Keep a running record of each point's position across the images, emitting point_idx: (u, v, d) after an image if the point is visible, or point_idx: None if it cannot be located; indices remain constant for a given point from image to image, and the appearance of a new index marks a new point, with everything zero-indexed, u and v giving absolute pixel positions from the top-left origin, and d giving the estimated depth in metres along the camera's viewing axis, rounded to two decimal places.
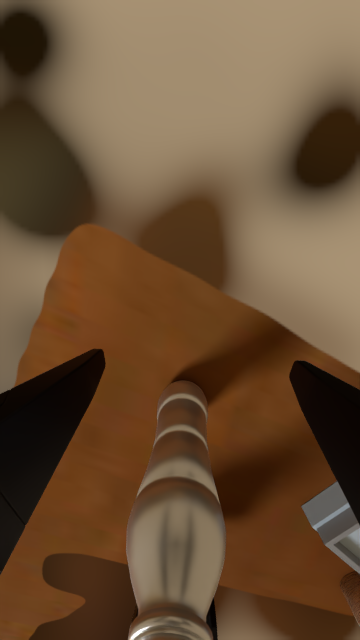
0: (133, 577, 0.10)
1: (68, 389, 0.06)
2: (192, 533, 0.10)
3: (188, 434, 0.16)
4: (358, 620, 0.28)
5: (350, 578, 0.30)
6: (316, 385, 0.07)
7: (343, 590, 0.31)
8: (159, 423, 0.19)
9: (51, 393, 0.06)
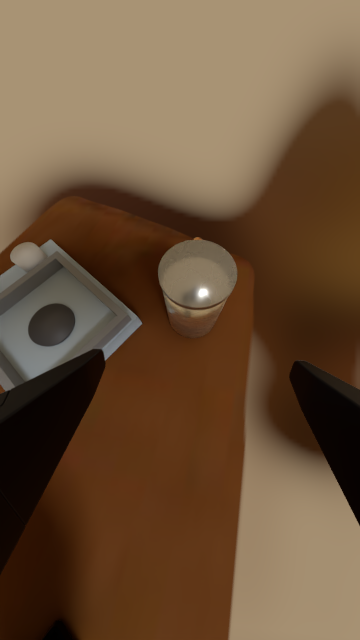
0: None
1: (68, 389, 0.06)
2: None
3: None
4: (197, 329, 0.19)
5: (175, 330, 0.22)
6: (316, 385, 0.07)
7: (195, 336, 0.22)
8: None
9: (51, 393, 0.06)
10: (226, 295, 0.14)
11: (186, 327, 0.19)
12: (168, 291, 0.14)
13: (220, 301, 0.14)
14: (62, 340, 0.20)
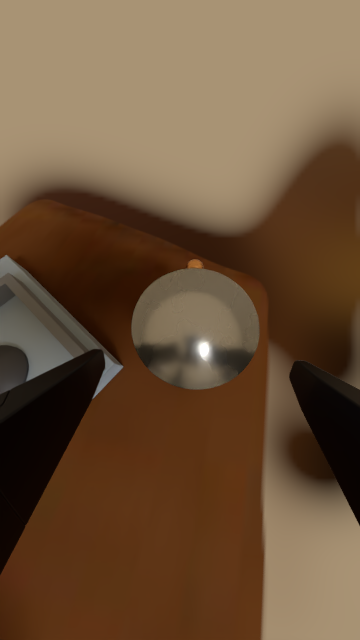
0: None
1: (68, 389, 0.06)
2: None
3: None
4: None
5: None
6: (316, 385, 0.07)
7: None
8: None
9: (51, 393, 0.06)
10: (243, 366, 0.08)
11: None
12: (147, 359, 0.08)
13: (233, 377, 0.08)
14: None
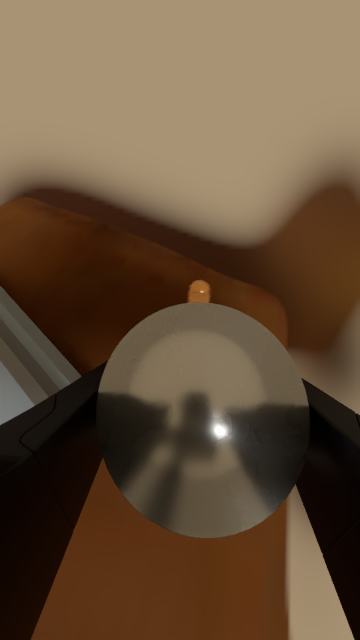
0: None
1: None
2: None
3: None
4: None
5: None
6: None
7: None
8: None
9: (96, 396, 0.06)
10: (287, 490, 0.05)
11: None
12: (119, 470, 0.05)
13: (269, 507, 0.05)
14: None
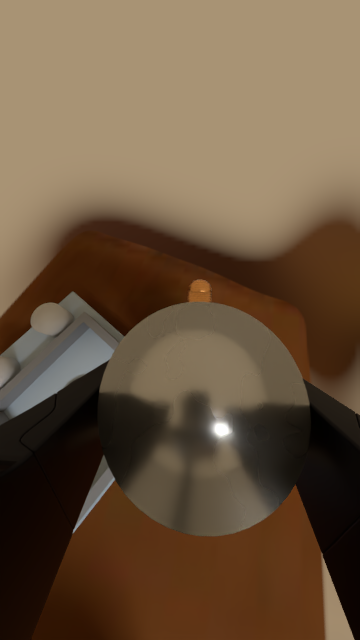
0: None
1: None
2: None
3: None
4: None
5: None
6: None
7: None
8: None
9: (96, 396, 0.06)
10: (288, 488, 0.05)
11: None
12: (120, 469, 0.05)
13: (270, 505, 0.05)
14: None
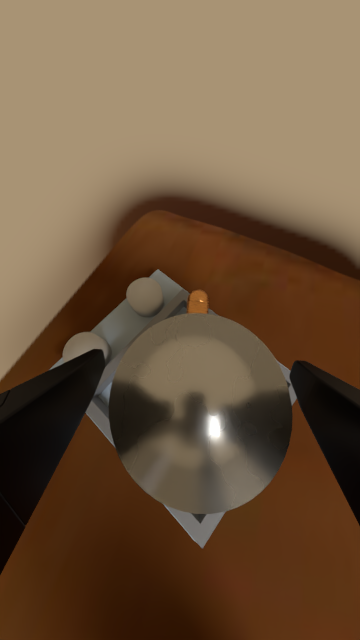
0: None
1: (68, 389, 0.06)
2: None
3: None
4: None
5: None
6: (316, 385, 0.07)
7: None
8: None
9: (51, 393, 0.06)
10: (271, 475, 0.06)
11: None
12: (129, 459, 0.06)
13: None
14: None
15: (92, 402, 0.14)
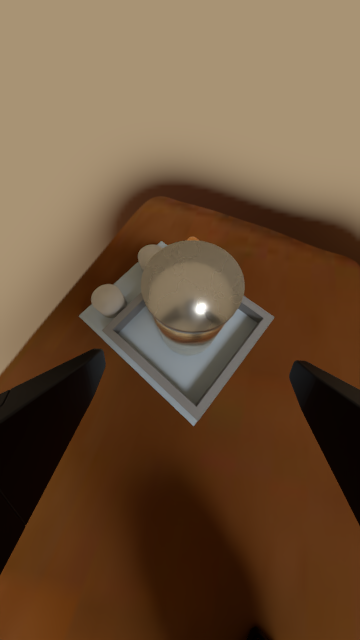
0: None
1: (68, 389, 0.06)
2: None
3: None
4: (194, 349, 0.16)
5: (168, 346, 0.19)
6: (316, 385, 0.07)
7: (192, 354, 0.18)
8: None
9: (51, 393, 0.06)
10: (231, 314, 0.10)
11: (180, 347, 0.15)
12: (154, 310, 0.10)
13: (223, 322, 0.10)
14: None
15: (115, 333, 0.19)
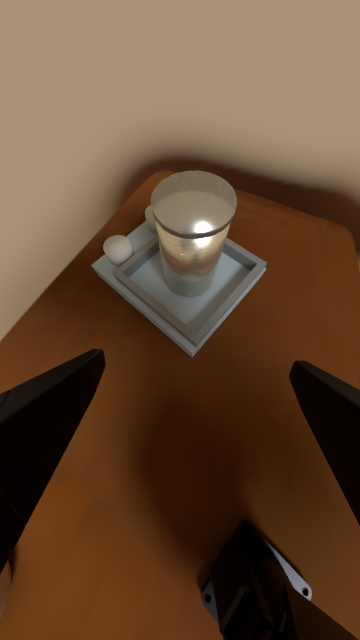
0: None
1: (68, 389, 0.06)
2: None
3: None
4: (195, 280, 0.18)
5: (171, 288, 0.21)
6: (316, 385, 0.07)
7: (192, 294, 0.21)
8: None
9: (51, 393, 0.06)
10: (225, 221, 0.13)
11: (182, 276, 0.17)
12: (162, 218, 0.13)
13: (218, 228, 0.13)
14: None
15: (124, 275, 0.21)
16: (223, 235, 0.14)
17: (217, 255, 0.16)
